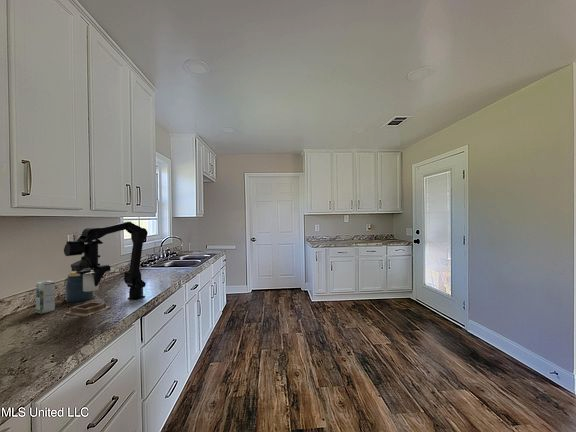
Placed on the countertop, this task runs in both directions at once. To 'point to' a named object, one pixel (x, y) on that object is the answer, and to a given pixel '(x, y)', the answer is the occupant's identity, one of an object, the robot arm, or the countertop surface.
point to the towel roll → (89, 282)
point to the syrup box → (45, 296)
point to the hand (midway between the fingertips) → (91, 285)
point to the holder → (88, 309)
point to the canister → (76, 288)
